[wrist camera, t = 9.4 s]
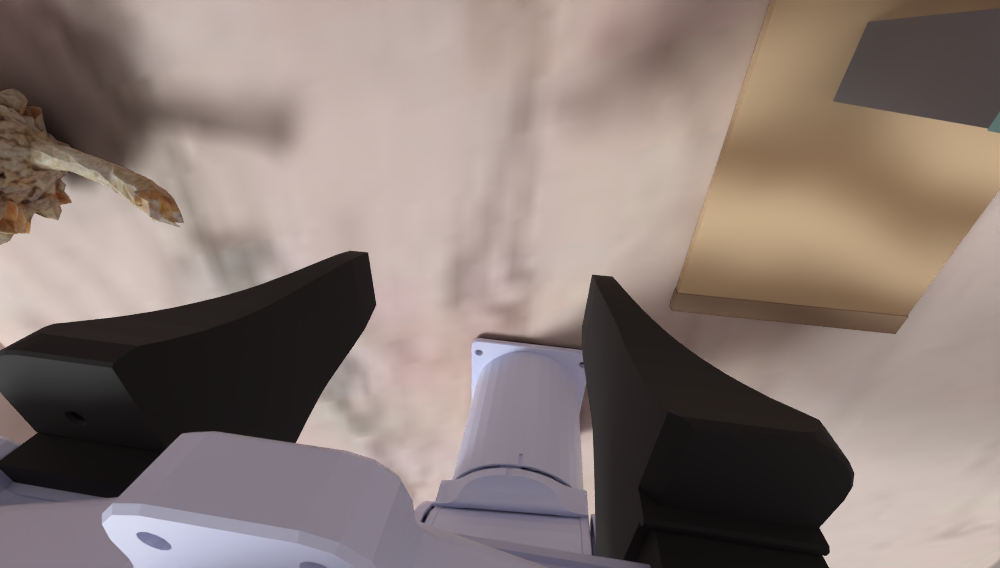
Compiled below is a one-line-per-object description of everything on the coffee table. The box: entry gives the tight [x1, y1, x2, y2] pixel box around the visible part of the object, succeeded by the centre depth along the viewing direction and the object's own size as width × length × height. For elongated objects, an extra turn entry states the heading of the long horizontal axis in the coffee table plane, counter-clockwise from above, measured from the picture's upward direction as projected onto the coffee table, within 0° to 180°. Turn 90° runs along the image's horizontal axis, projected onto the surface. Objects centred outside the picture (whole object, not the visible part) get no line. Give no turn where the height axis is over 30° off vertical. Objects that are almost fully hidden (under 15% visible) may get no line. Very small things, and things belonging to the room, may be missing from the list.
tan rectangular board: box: [670, 0, 1000, 334], centre depth 18 cm, size 16×12×1 cm
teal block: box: [833, 8, 1000, 133], centre depth 12 cm, size 3×3×9 cm
